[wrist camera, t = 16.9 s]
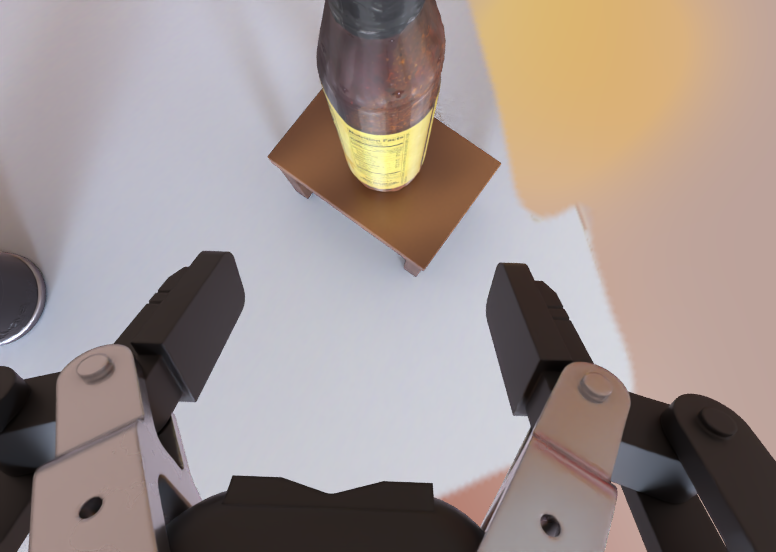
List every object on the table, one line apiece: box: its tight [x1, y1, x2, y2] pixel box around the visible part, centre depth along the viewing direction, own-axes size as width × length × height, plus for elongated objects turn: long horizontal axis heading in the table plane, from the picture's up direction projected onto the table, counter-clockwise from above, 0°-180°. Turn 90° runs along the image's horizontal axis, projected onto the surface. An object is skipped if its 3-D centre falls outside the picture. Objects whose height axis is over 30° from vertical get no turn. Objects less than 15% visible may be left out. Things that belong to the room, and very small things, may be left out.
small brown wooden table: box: [268, 88, 501, 277], centre depth 33 cm, size 16×11×8 cm
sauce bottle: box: [317, 0, 446, 192], centre depth 19 cm, size 7×6×20 cm
